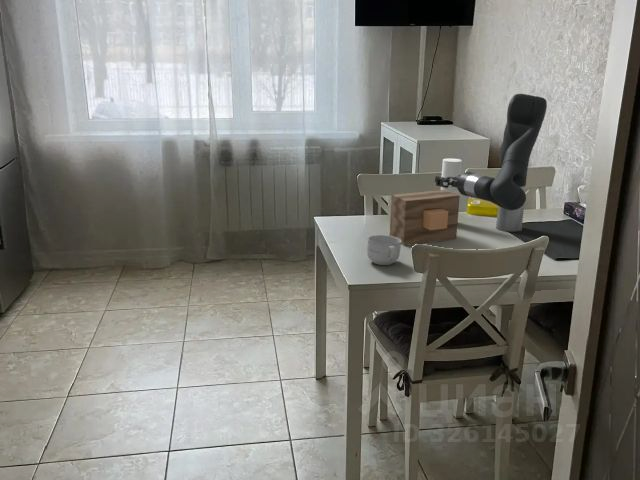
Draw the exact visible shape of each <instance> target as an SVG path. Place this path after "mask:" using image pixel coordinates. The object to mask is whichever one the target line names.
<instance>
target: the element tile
mask: <svg viewBox="0 0 640 480" xmlns="http://www.w3.org/2000/svg"><path fill="white" fill-rule="evenodd" d="M467 200H468V201H467V204H466V214H467V215H472V216H482V217H496V218H497V212H498V205H496V204H494V203H492V202H490V201H486V200H482V199H475V198H472V197H468V199H467Z"/></svg>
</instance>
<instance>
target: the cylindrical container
mask: <svg viewBox="0 0 640 480" xmlns="http://www.w3.org/2000/svg"><path fill="white" fill-rule="evenodd" d="M462 163H463V161H462V159H460V158H451V157H450V158H448V157H447V158H443V159H442V165H441V166H442V167H441V177H444V178H447V177H449V176H451V177H457V176H459V175H462ZM451 181H452V179H450V182H451ZM440 190H446V191H448V192H451V193H454V194H456V195H459V196H460V192H459V191H458V189H455V188H449V187H448V188H444V187H440Z"/></svg>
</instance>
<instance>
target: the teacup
mask: <svg viewBox="0 0 640 480" xmlns="http://www.w3.org/2000/svg"><path fill="white" fill-rule="evenodd" d="M401 245H402V244H401V240H400V239H399V238H396V237H393V236H390V235H385V234H374V235H369V236H368V237H367V245H366V246H367V247H366V255H367V258H368V259H369V260H371V262H372V263H374V264H375V265H380V266H391V265H393V264H394V263H395V262H397V261H398V260H399V258H400V253H401Z"/></svg>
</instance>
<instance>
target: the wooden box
mask: <svg viewBox="0 0 640 480" xmlns="http://www.w3.org/2000/svg"><path fill="white" fill-rule="evenodd" d="M460 197H461V196H460V194H459V195H456V194H454V193H451V192H448V191H446V190H441V189H440V190H428V191H427V190H426V191H418V192H406V193H396V194H391V198H390V199H391V200H390V220H389V236H393V237H396V238H399V239H400V240H401V245H402V246H403V245H404V246H409V245H408V244H411V245H417V244H416V243H419V244H424V243H423V242H427V243H433V241H434V242H441V241H449V240H455V239H456V240H457V234H458V222H459V209H460ZM434 208H441V209H443V210H446V211H448V223H447V228H445V229H437V230H428V229H426V228H424V227H422V223H423V210H424V209H434ZM411 245H410V246H411Z"/></svg>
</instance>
